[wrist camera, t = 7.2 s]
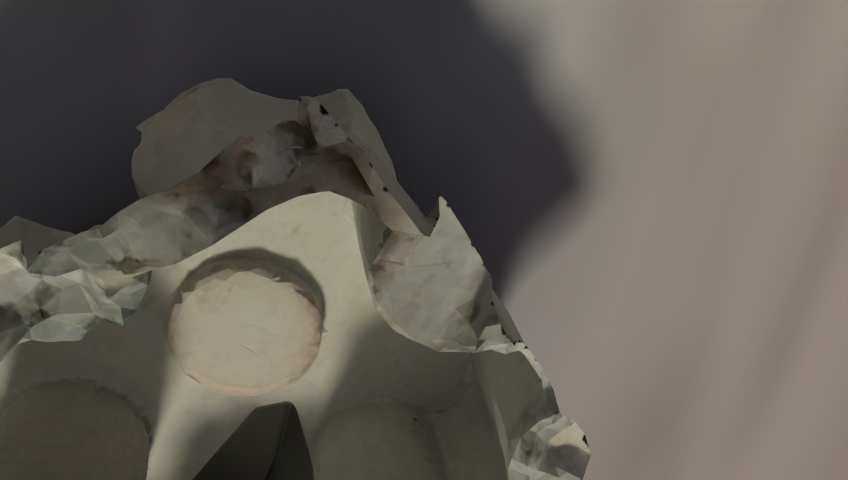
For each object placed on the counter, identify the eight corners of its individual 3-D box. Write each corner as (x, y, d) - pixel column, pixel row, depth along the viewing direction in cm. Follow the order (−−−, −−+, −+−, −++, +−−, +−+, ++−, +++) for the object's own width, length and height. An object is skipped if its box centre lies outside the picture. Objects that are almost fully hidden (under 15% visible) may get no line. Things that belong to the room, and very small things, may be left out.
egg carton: (318, -16, 10) (341, 52, 6) (560, 377, 13) (668, 570, 10) (-328, 398, 11) (-643, 671, 7) (54, 665, 14) (-24, 943, 10)
